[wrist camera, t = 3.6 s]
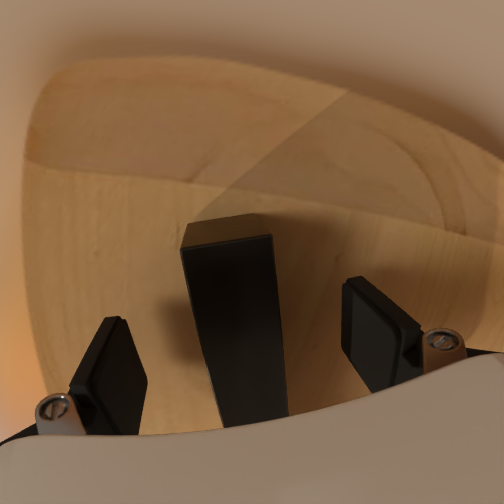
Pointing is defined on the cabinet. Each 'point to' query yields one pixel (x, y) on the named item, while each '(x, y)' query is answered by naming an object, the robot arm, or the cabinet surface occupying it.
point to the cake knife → (237, 316)
